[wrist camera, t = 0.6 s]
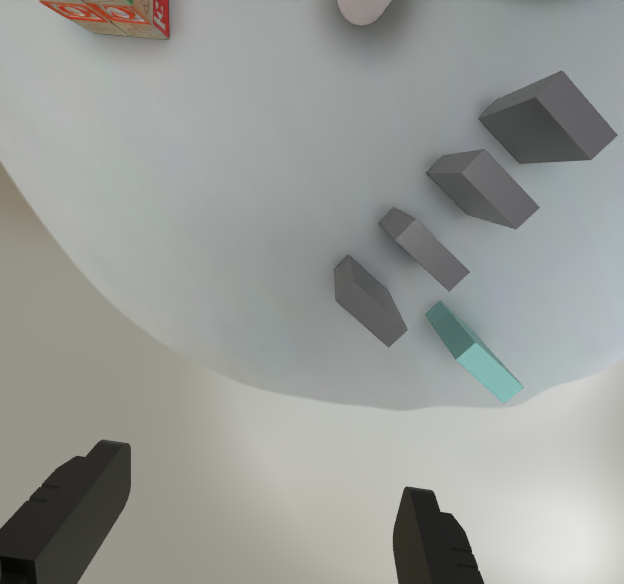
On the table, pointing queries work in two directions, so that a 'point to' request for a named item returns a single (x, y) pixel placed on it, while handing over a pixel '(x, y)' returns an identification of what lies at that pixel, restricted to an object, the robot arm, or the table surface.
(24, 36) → the table surface
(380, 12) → the smoothie
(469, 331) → the domino
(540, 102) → the domino
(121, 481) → the robot arm
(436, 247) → the domino
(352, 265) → the domino
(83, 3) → the stack of blocks
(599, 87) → the table surface
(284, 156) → the table surface
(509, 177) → the domino
